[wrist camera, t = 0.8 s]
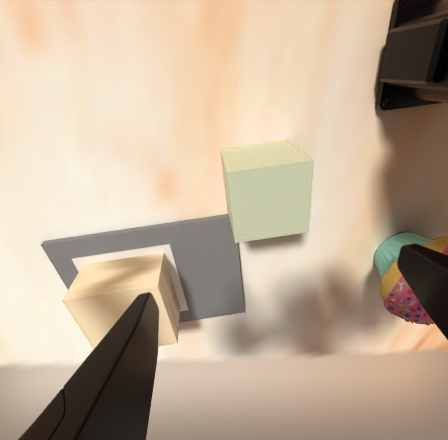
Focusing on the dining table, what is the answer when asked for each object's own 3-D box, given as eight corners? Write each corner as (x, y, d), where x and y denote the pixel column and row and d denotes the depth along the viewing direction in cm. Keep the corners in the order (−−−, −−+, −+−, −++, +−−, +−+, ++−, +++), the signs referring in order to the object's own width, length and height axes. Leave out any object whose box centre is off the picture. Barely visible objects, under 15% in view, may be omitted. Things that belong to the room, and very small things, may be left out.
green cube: (286, 139, 19) (313, 159, 14) (285, 199, 21) (308, 232, 17) (220, 148, 19) (227, 172, 14) (227, 208, 21) (235, 242, 17)
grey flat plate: (233, 213, 21) (234, 216, 21) (244, 308, 28) (245, 313, 27) (44, 241, 21) (39, 245, 20) (97, 331, 27) (95, 336, 27)
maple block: (163, 252, 22) (157, 285, 19) (180, 306, 26) (177, 343, 22) (83, 264, 22) (62, 300, 18) (111, 317, 25) (97, 355, 22)
